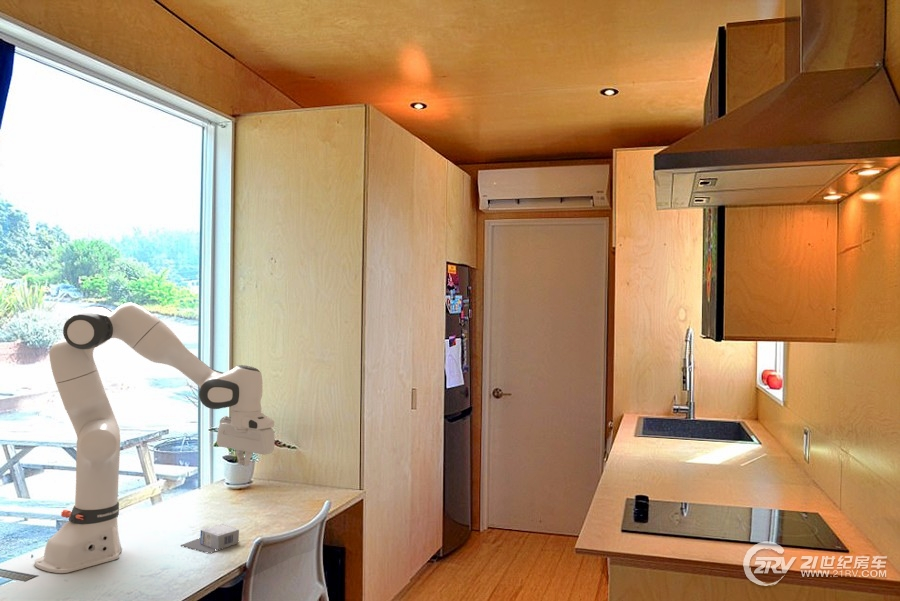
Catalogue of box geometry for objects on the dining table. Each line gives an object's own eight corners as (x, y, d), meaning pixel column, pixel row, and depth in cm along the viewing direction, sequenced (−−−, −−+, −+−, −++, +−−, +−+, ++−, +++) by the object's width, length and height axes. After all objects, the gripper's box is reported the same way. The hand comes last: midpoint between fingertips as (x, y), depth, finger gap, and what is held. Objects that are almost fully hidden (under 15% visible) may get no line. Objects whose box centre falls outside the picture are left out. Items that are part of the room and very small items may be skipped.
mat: (209, 553, 204) (209, 552, 204) (180, 546, 209) (180, 545, 209) (239, 541, 214) (239, 540, 214) (210, 534, 220) (210, 533, 220)
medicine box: (239, 543, 212) (221, 537, 217) (239, 528, 212) (221, 523, 217) (217, 550, 206) (199, 544, 211) (218, 535, 206) (200, 529, 211)
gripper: (212, 416, 211) (210, 461, 210) (264, 424, 201) (261, 472, 201) (228, 414, 216) (226, 458, 216) (278, 422, 207) (276, 468, 207)
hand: (243, 465), depth 209 cm, fingers closed
